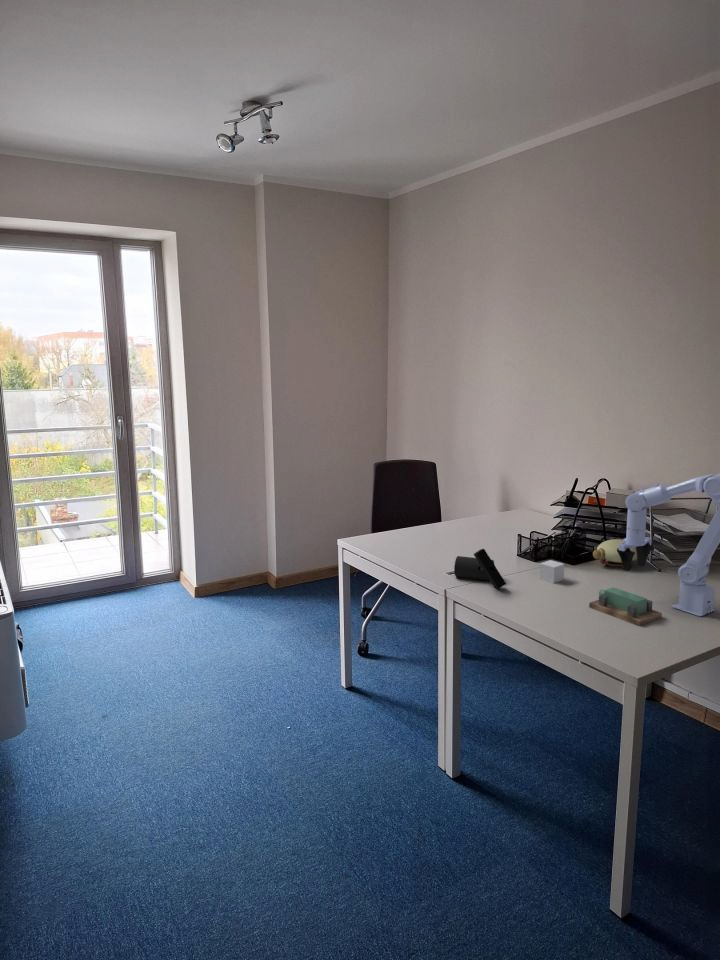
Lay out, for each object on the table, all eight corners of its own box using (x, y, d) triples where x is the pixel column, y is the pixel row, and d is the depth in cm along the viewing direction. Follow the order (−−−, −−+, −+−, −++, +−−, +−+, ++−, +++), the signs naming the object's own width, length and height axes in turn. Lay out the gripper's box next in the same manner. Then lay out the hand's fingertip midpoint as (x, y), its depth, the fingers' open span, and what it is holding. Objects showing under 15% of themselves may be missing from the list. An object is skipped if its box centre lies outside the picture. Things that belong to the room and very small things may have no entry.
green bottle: (646, 612, 199) (647, 598, 198) (637, 615, 197) (637, 601, 196) (605, 597, 212) (605, 584, 211) (596, 600, 209) (596, 587, 209)
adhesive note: (563, 579, 234) (564, 563, 233) (553, 583, 230) (554, 567, 229) (549, 575, 238) (550, 559, 237) (539, 579, 235) (539, 563, 234)
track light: (444, 563, 243) (456, 561, 223) (476, 543, 245) (490, 539, 225) (466, 598, 242) (480, 600, 222) (498, 578, 244) (514, 578, 224)
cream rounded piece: (648, 567, 244) (607, 574, 239) (621, 555, 259) (581, 562, 254) (649, 543, 242) (607, 550, 238) (621, 532, 257) (581, 539, 253)
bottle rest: (661, 617, 199) (662, 603, 198) (639, 626, 193) (639, 611, 192) (611, 599, 214) (612, 586, 213) (589, 607, 208) (589, 593, 207)
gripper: (639, 522, 220) (636, 560, 223) (611, 529, 213) (609, 568, 215) (658, 526, 214) (655, 566, 217) (630, 533, 207) (628, 574, 209)
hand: (633, 567), depth 216 cm, fingers open, 7 cm apart
